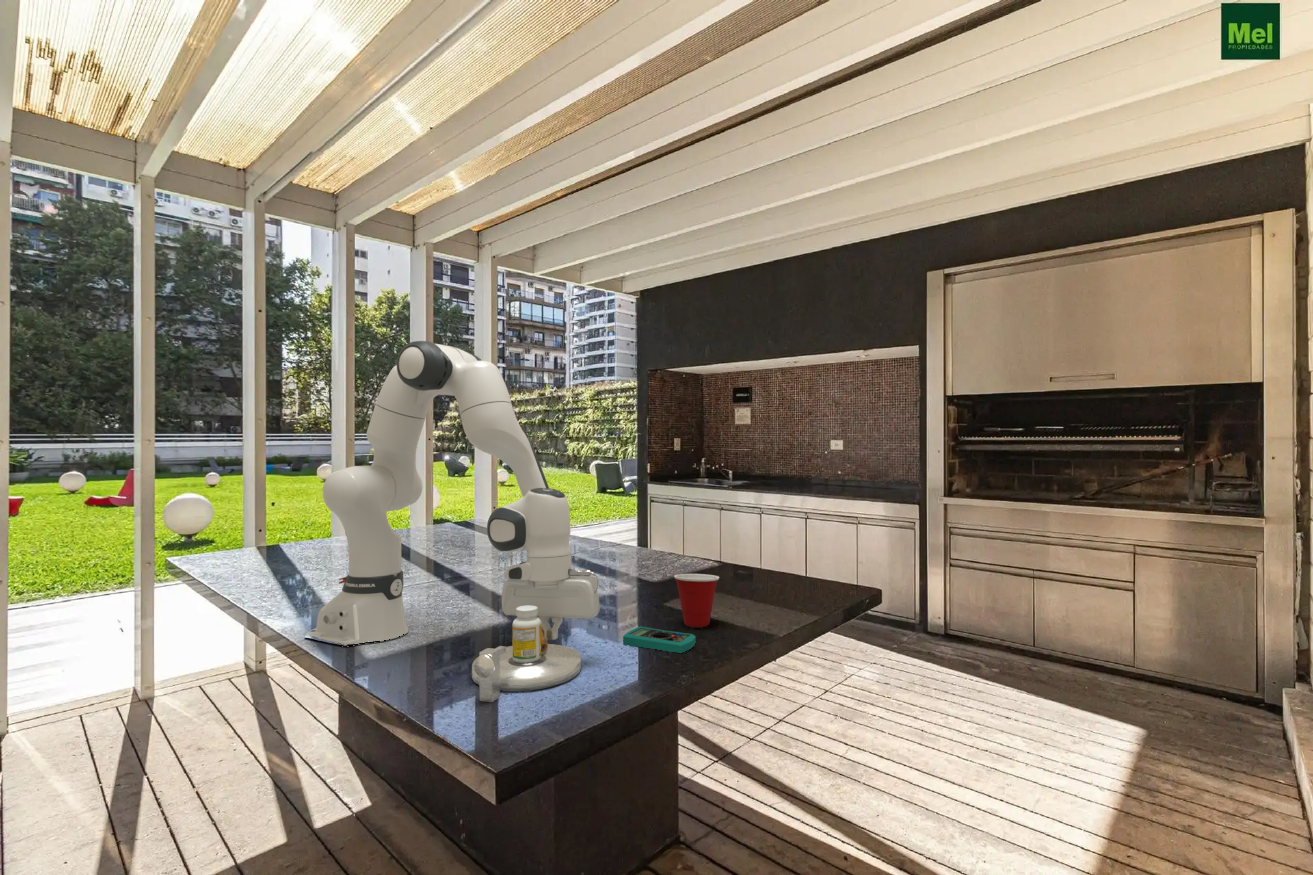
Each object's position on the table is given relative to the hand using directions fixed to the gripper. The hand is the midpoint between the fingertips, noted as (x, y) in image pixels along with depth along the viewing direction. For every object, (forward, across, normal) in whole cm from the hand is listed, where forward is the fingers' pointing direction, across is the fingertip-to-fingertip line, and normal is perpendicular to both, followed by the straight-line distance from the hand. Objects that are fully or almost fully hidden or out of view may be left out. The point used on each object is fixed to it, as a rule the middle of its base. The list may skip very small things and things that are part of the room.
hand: (551, 638), depth 123 cm
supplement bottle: (+2, +1, +7) cm, 8 cm away
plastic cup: (+5, -23, -31) cm, 39 cm away
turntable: (+4, +1, +8) cm, 9 cm away
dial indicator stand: (+4, +1, +19) cm, 20 cm away
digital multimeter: (+5, -18, -15) cm, 24 cm away
